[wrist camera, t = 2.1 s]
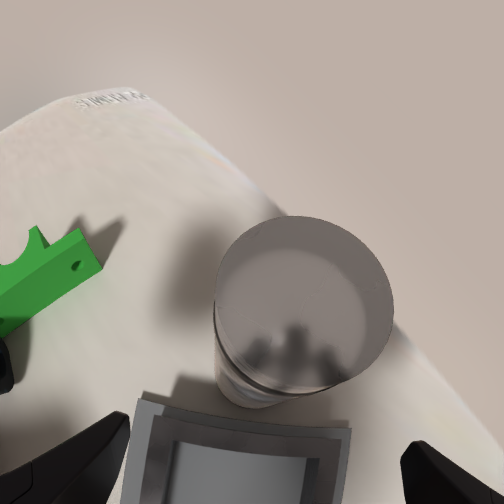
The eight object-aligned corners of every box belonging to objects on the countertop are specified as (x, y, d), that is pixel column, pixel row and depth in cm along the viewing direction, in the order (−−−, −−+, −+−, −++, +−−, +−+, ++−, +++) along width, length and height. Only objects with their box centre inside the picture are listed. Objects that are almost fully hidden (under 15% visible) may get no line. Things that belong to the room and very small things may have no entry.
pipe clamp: (86, 239, 23) (68, 204, 19) (103, 271, 22) (85, 237, 18) (-10, 304, 18) (-39, 279, 15) (1, 340, 17) (-32, 320, 13)
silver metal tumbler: (220, 414, 17) (230, 407, 6) (208, 338, 20) (203, 221, 9) (300, 400, 18) (416, 360, 7) (284, 328, 21) (360, 211, 10)
